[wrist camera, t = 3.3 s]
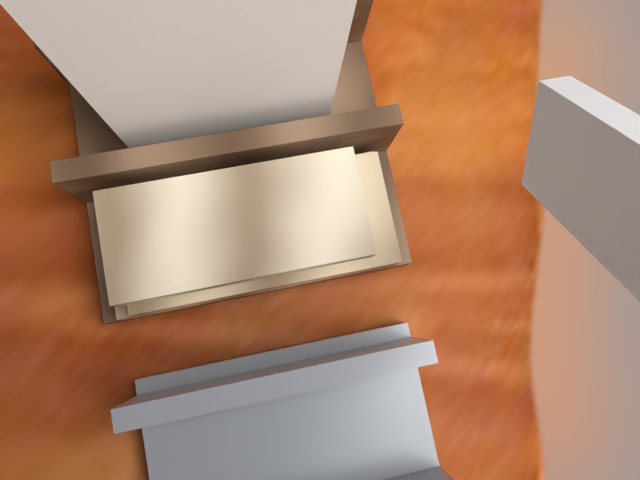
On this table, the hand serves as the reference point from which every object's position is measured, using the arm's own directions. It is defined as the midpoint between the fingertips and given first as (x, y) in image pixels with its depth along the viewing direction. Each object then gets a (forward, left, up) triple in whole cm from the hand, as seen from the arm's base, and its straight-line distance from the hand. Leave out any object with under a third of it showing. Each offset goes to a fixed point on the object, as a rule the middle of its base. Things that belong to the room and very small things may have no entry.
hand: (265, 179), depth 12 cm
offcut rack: (+2, +5, -16) cm, 17 cm away
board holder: (-5, -7, -16) cm, 19 cm away
